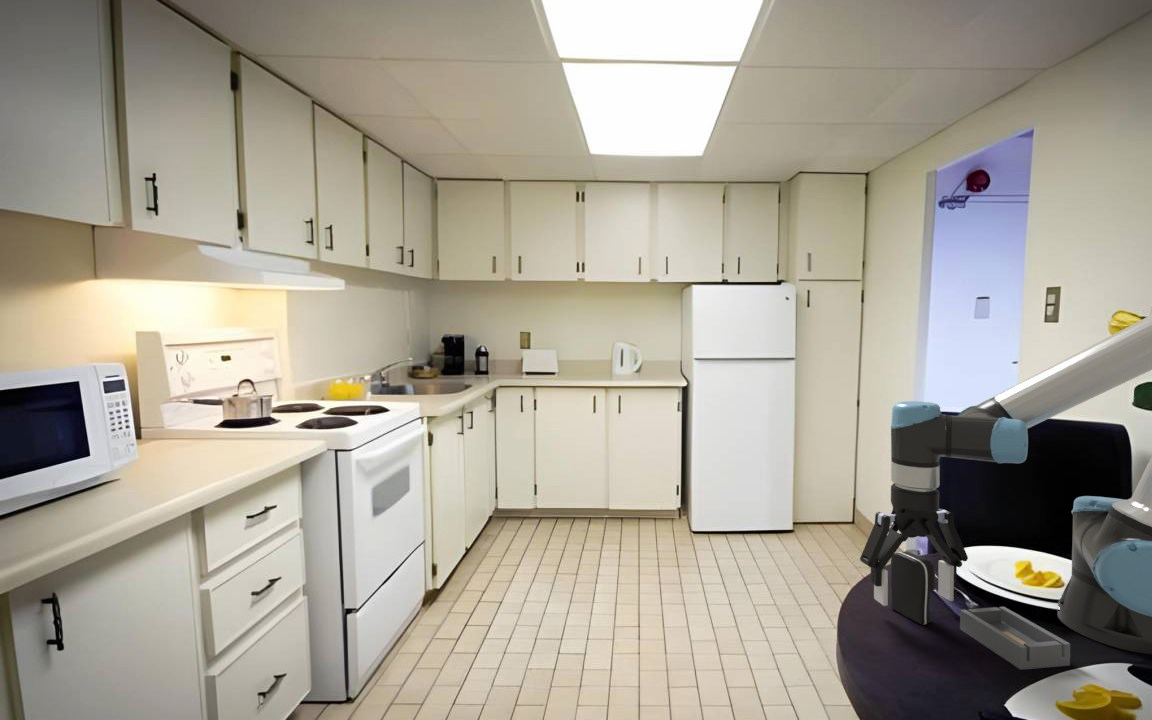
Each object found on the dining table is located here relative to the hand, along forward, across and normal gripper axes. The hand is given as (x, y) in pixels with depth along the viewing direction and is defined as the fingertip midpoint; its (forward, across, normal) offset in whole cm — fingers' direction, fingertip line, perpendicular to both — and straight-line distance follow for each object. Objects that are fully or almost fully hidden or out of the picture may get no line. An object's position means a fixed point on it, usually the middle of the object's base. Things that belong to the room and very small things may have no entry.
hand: (913, 599), depth 98 cm
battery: (+3, 0, 0) cm, 3 cm away
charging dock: (+3, -9, +11) cm, 15 cm away
